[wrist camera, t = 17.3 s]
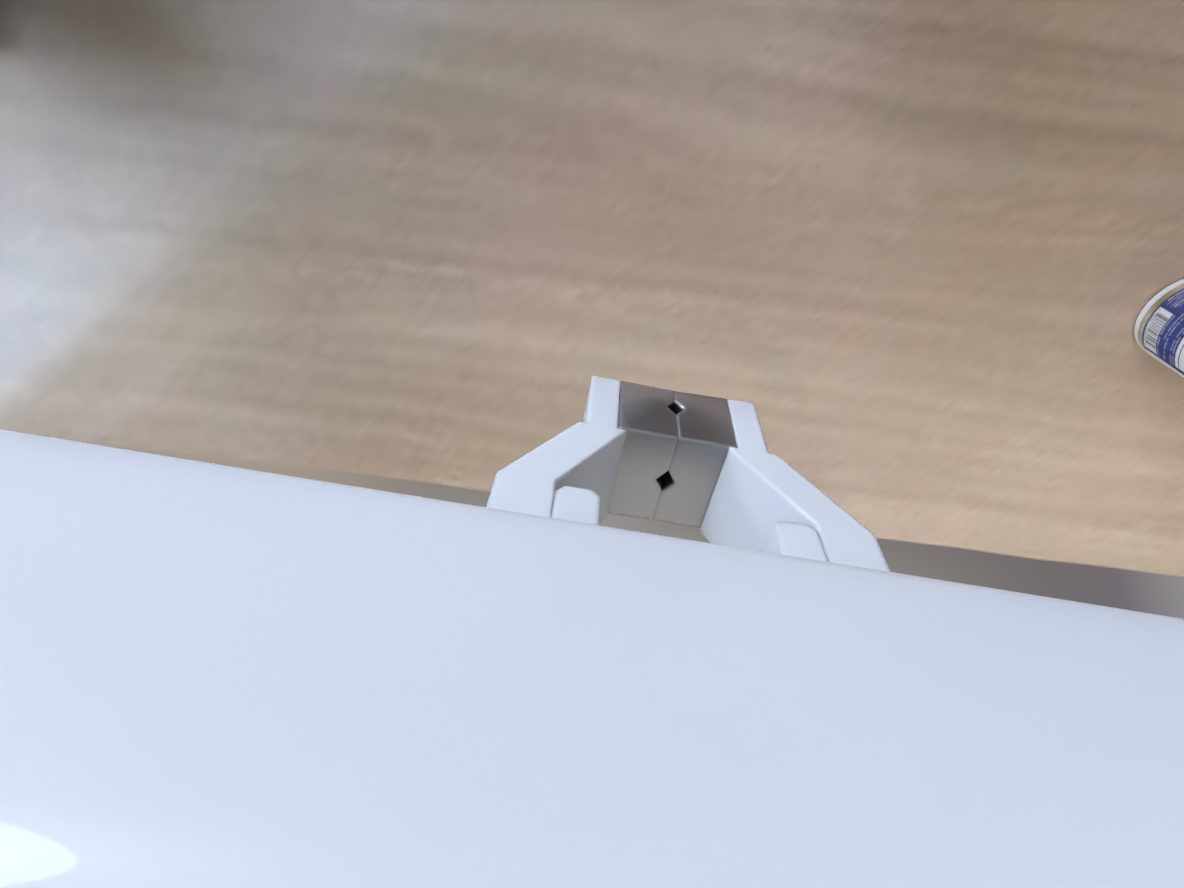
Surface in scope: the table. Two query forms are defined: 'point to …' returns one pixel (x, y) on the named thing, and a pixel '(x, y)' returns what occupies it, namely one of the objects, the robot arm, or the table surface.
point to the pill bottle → (1164, 327)
